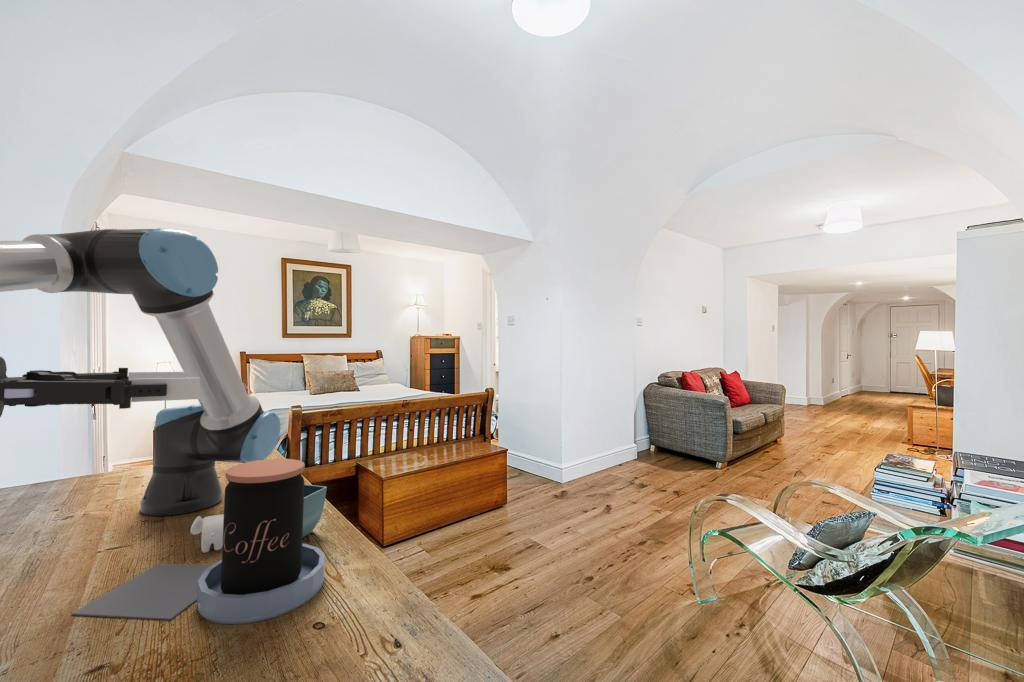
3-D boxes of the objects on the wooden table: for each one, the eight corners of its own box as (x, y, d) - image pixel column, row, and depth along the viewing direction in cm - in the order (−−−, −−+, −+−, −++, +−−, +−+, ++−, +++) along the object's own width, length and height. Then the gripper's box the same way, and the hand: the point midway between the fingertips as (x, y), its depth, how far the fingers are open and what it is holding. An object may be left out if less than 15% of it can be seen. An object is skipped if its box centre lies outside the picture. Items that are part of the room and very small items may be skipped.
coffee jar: (203, 606, 60) (208, 477, 60) (244, 568, 70) (248, 458, 71) (282, 604, 61) (287, 477, 61) (311, 567, 71) (315, 458, 72)
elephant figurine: (234, 535, 84) (235, 504, 85) (233, 551, 78) (235, 518, 78) (191, 542, 81) (193, 511, 81) (187, 560, 74) (188, 525, 74)
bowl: (247, 561, 74) (247, 541, 74) (341, 565, 74) (342, 545, 74) (166, 621, 58) (168, 594, 58) (287, 627, 57) (288, 600, 57)
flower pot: (296, 549, 79) (298, 500, 80) (256, 543, 81) (258, 495, 81) (326, 530, 88) (328, 486, 88) (289, 525, 90) (290, 482, 90)
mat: (159, 564, 72) (159, 563, 72) (239, 568, 72) (239, 567, 72) (71, 615, 58) (71, 613, 58) (170, 620, 58) (171, 618, 58)
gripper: (-30, 411, 55) (179, 401, 69) (-99, 446, 36) (204, 423, 51) (-26, 352, 55) (182, 355, 69) (-93, 358, 37) (208, 360, 51)
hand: (192, 384), depth 60 cm, fingers open, 13 cm apart
